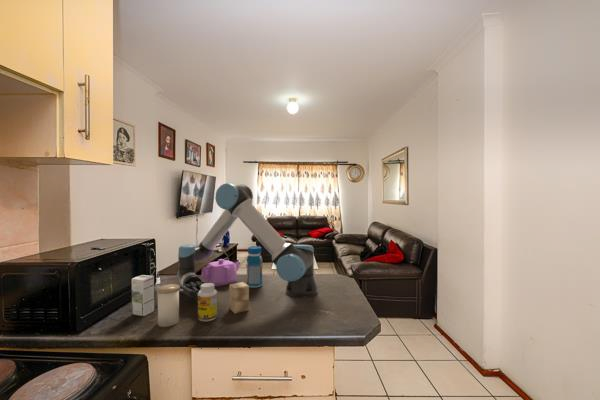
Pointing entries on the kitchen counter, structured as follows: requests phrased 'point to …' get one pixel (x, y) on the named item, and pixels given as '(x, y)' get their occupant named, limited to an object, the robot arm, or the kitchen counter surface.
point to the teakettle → (220, 272)
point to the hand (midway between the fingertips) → (205, 298)
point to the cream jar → (168, 305)
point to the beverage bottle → (254, 267)
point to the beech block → (239, 297)
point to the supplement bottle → (207, 302)
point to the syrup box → (142, 295)
